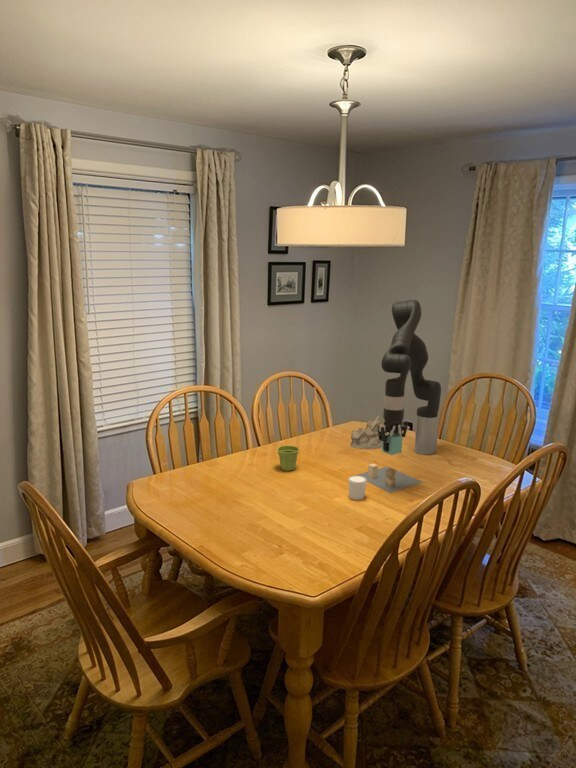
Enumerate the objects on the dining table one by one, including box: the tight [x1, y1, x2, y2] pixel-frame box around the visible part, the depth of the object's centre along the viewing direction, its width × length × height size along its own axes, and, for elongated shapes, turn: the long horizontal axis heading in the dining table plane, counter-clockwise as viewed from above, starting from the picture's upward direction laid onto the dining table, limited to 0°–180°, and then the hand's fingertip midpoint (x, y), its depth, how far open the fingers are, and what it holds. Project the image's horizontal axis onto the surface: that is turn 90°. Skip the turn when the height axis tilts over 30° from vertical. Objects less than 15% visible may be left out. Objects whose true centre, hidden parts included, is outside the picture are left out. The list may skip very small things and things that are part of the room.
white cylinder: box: [347, 475, 368, 501], centre depth 208 cm, size 7×7×7 cm
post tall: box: [385, 467, 397, 487], centre depth 216 cm, size 3×3×6 cm
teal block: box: [381, 432, 403, 456], centre depth 213 cm, size 5×5×7 cm
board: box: [354, 463, 424, 494], centre depth 222 cm, size 18×20×6 cm
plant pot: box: [276, 445, 300, 472], centre depth 235 cm, size 9×9×9 cm
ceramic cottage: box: [350, 415, 382, 450], centre depth 265 cm, size 16×16×15 cm
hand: (391, 449), depth 213 cm, fingers closed on teal block, 5 cm apart
